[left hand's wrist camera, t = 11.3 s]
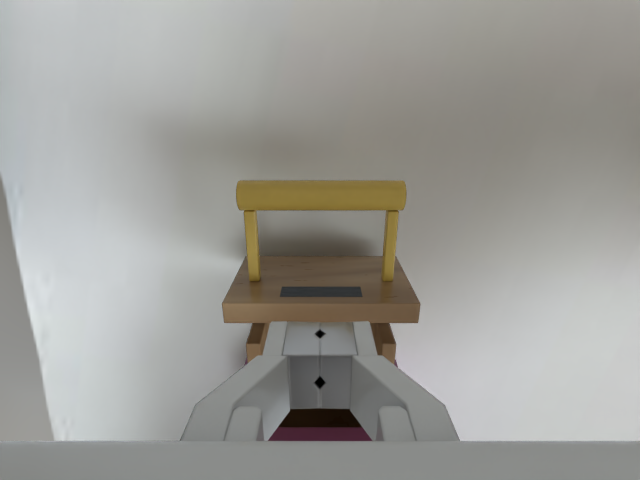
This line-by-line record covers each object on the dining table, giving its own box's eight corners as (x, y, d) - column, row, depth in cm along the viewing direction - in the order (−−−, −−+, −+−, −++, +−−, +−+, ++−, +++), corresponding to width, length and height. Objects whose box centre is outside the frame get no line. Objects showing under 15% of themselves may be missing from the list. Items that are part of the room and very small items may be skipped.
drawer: (238, 169, 21) (208, 192, 16) (403, 169, 21) (434, 192, 16) (262, 452, 30) (248, 534, 24) (379, 452, 30) (393, 534, 24)
